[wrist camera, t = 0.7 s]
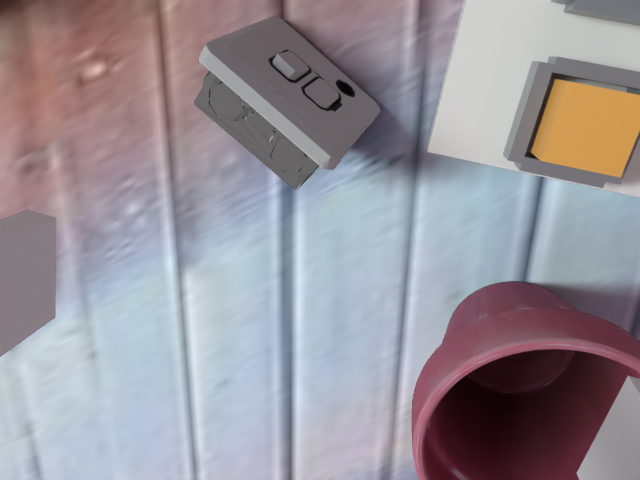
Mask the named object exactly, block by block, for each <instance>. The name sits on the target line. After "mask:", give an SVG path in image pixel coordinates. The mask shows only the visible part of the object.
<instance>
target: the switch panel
mask: <svg viewBox="0 0 640 480" xmlns="http://www.w3.org/2000/svg"><path fill="white" fill-rule="evenodd" d="M555 79H558V80H564V81H569V82H575V83H580V84H585V85H590V86H595V87H601V88H606V89H611V90H616V91H621V92H627V93H632V94H637V95H640V0H464V2H463V6H462V10H461V14H460V18H459V21H458V25H457V29H456V33H455V37H454V41H453V45H452V49H451V52H450V56H449V60H448V64H447V68H446V72H445V76H444V80H443V84H442V87H441V91H440V95H439V99H438V103H437V107H436V111H435V115H434V119H433V122H432V126H431V130H430V134H429V138H428V142H427V152H430V153H435V154H439V155H444V156H449V157H453V158H458V159H463V160H467V161H472V162H477V163H481V164H486V165H491V166H495V167H500V168H505V169H509V170H514V171H519V172H523V173H528V174H533V175H537V176H542V177H547V178H551V179H556V180H561V181H565V182H570V183H575V184H579V185H584V186H589V187H593V188H598V189H603V190H607V191H612V192H617V193H621V194H626V195H631V196H635V197H640V131H639V134H638V136H637V139H636V141H635V143H634V146H633V148H632V151H631V153H630V156H629V158H628V161H627V163H626V166H625V168H624V170H623V173H622V175H621V178H620V177H615V176H610V175H605V174H601V173H596V172H591V171H586V170H582V169H577V168H572V167H568V166H563V165H558V164H553V163H549V162H544V161H540V160H539V159H538V158H537V157H536V156H535V155H533V154H532V153H531V150H532V147H533V144H534V141H535V138H536V135H537V132H538V129H539V126H540V123H541V120H542V117H543V114H544V111H545V108H546V105H547V102H548V99H549V96H550V93H551V90H552V87H553V84H554V81H555Z"/></svg>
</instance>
